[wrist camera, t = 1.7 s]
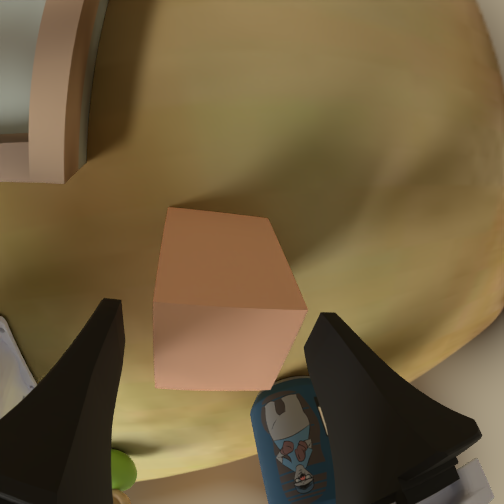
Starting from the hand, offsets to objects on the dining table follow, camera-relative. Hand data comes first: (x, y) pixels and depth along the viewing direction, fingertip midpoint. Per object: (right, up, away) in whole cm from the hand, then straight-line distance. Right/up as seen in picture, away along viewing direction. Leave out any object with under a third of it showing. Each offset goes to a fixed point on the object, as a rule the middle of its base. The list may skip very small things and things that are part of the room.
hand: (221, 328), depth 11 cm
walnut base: (-10, +11, -4) cm, 15 cm away
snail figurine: (-14, -20, +16) cm, 30 cm away
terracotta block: (-1, +3, +4) cm, 5 cm away
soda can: (+4, -9, +13) cm, 16 cm away
